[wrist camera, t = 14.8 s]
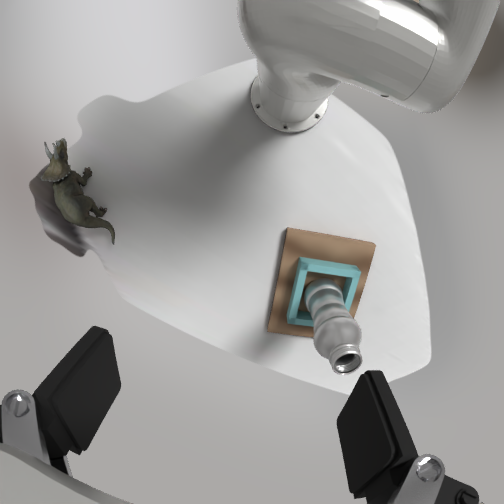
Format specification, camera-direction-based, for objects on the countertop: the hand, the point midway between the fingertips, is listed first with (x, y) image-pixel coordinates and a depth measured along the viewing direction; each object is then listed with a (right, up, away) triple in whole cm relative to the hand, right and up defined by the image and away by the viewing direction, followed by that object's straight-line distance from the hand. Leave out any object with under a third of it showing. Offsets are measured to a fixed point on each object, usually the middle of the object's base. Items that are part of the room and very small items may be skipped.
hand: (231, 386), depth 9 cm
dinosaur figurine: (-31, +16, +37) cm, 51 cm away
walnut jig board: (+13, -2, +40) cm, 42 cm away
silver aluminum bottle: (+13, -2, +39) cm, 41 cm away
